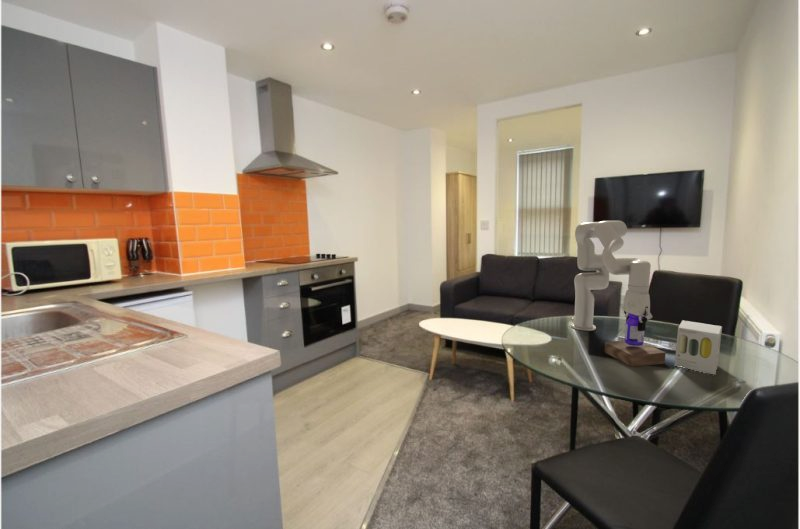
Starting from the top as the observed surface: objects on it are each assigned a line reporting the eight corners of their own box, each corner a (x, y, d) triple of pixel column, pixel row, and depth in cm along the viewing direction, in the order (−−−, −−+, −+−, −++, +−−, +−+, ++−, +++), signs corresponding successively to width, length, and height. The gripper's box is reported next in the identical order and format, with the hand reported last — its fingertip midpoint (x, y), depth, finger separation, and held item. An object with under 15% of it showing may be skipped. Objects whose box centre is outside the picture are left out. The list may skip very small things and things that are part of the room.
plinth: (604, 352, 165) (605, 342, 164) (634, 349, 167) (635, 339, 166) (631, 366, 149) (632, 355, 148) (664, 363, 151) (665, 352, 151)
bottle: (638, 342, 160) (641, 305, 157) (646, 346, 154) (649, 308, 152) (622, 341, 160) (624, 305, 158) (628, 346, 155) (631, 308, 152)
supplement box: (673, 366, 148) (677, 326, 146) (678, 357, 157) (681, 319, 155) (715, 376, 139) (720, 334, 136) (718, 365, 148) (722, 325, 145)
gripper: (615, 285, 161) (613, 323, 164) (647, 293, 145) (643, 335, 147) (630, 284, 163) (627, 321, 165) (663, 292, 146) (659, 334, 148)
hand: (635, 327), depth 156 cm, fingers closed on bottle, 5 cm apart
